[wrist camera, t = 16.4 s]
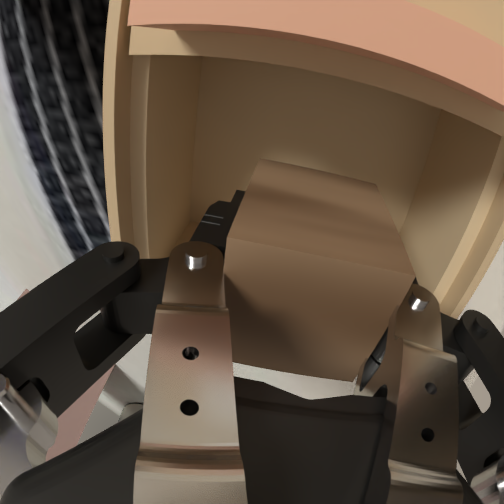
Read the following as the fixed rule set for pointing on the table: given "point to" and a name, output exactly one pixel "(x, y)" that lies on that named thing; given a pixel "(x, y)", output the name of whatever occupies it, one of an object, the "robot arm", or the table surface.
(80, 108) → the table surface
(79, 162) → the table surface
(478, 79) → the lid
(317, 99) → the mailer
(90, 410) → the greeting card
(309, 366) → the block
